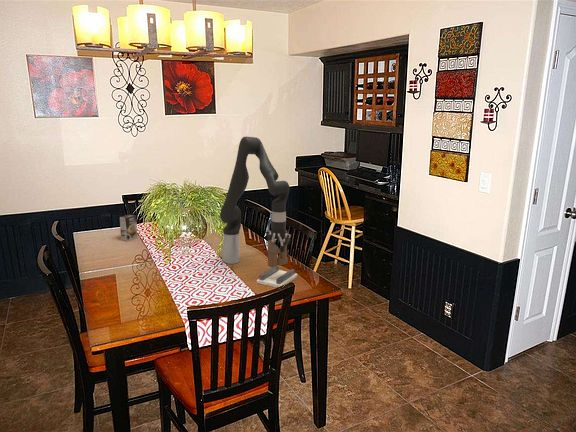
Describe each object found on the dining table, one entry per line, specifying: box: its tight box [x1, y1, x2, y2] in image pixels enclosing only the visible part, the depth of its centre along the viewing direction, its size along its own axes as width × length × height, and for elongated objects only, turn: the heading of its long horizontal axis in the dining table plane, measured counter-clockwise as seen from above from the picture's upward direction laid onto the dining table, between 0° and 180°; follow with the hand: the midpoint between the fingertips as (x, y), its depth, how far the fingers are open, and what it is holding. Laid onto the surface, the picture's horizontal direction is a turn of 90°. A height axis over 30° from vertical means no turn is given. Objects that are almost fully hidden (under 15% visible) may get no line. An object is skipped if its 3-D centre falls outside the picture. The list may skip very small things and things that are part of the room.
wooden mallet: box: [267, 229, 289, 268], centre depth 227 cm, size 4×11×18 cm, turn 130°
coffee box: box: [119, 214, 138, 242], centre depth 294 cm, size 9×6×16 cm
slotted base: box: [256, 265, 298, 288], centre depth 231 cm, size 14×19×4 cm
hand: (278, 251), depth 228 cm, fingers closed on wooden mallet, 4 cm apart
